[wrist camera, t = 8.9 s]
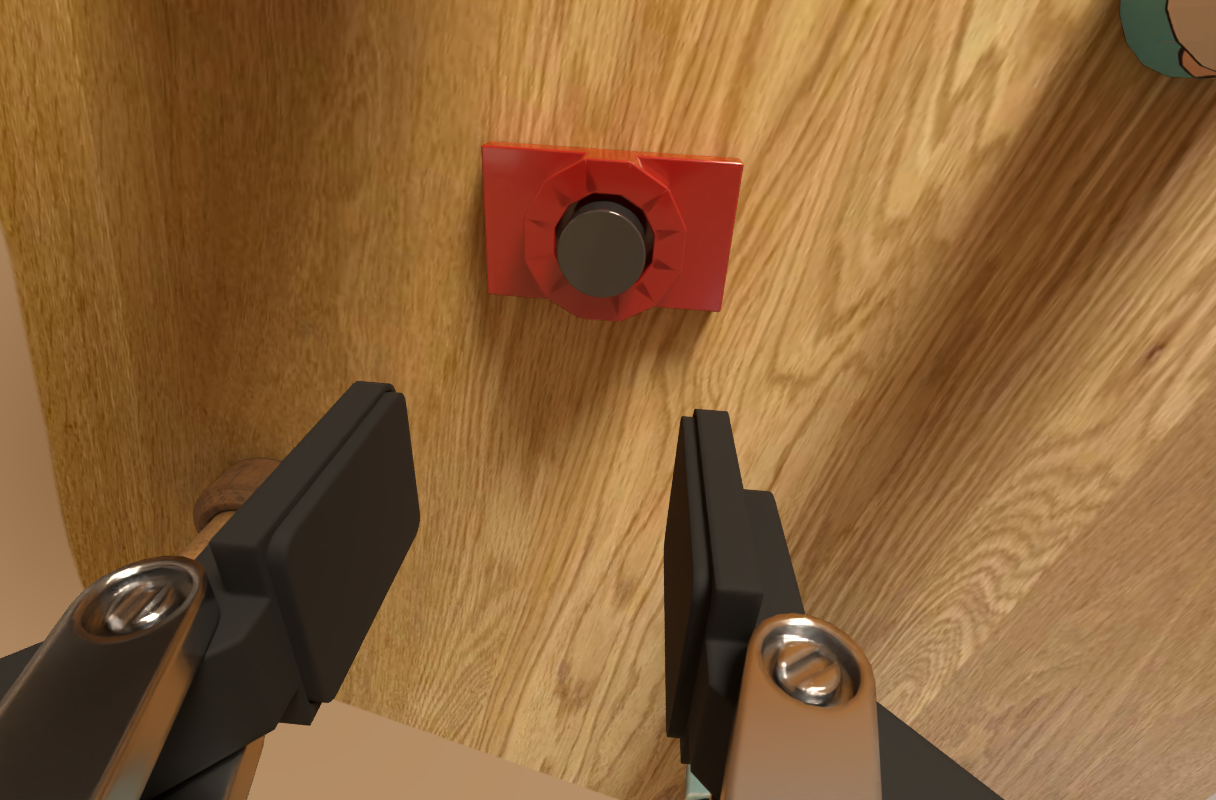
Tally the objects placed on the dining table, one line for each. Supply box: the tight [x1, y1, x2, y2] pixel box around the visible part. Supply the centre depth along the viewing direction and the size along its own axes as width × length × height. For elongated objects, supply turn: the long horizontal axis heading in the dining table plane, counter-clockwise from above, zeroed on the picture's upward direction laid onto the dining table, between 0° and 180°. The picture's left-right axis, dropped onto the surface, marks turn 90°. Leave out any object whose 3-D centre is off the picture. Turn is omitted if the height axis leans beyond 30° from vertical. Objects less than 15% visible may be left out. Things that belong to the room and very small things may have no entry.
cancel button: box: [557, 200, 646, 298], centre depth 23 cm, size 3×3×2 cm
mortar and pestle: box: [178, 459, 281, 560], centre depth 27 cm, size 7×6×18 cm
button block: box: [481, 141, 743, 321], centre depth 24 cm, size 10×6×3 cm, turn 87°
